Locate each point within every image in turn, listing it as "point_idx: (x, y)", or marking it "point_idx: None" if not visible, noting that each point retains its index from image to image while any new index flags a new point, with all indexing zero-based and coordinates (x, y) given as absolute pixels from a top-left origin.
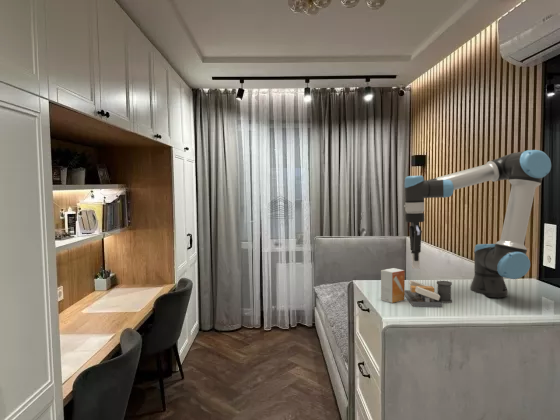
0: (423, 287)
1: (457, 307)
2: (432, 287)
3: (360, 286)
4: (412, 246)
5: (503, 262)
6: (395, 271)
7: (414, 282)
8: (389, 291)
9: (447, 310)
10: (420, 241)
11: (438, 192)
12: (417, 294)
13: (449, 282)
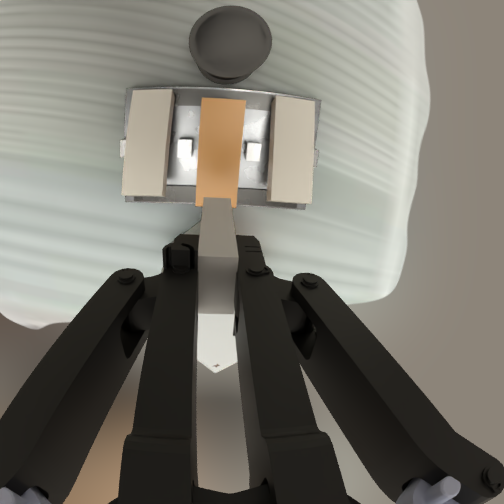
0: (232, 150)
1: (316, 45)
2: (231, 104)
3: (53, 318)
4: (196, 357)
5: None
6: None
7: (163, 180)
8: None
9: (350, 99)
10: (398, 372)
11: None
12: (192, 160)
13: (233, 15)
